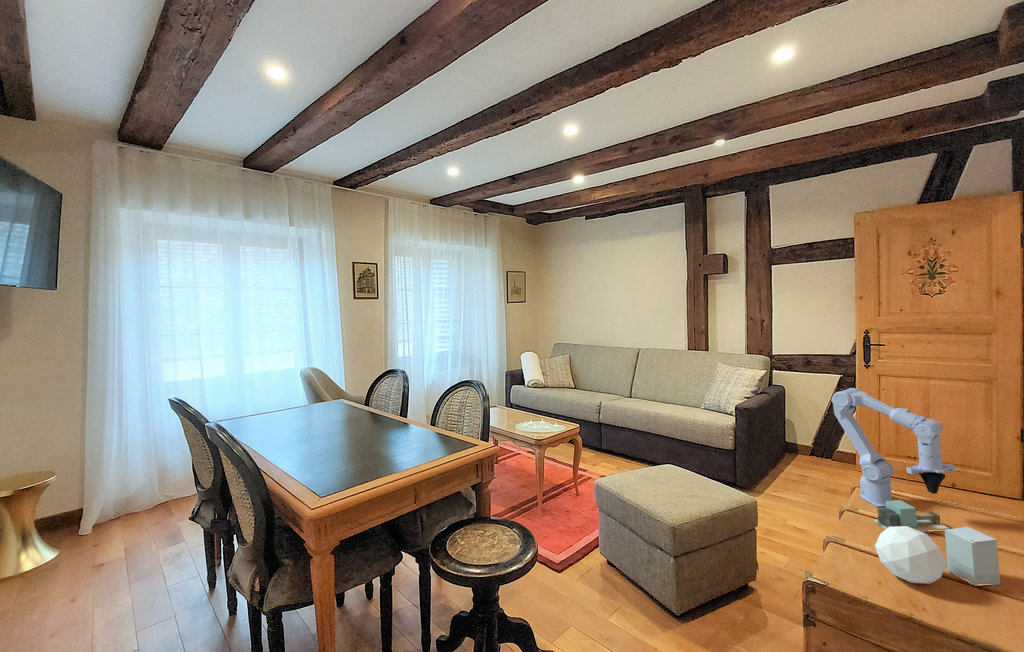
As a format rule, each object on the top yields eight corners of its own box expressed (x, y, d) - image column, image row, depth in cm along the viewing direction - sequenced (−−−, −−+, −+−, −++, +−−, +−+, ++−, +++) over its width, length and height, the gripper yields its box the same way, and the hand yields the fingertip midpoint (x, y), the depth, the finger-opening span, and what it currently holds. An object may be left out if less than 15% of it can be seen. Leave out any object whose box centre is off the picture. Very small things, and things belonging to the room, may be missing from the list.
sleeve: (886, 519, 147) (885, 501, 147) (901, 518, 147) (900, 500, 147) (901, 528, 141) (900, 509, 141) (917, 527, 141) (915, 508, 141)
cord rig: (873, 522, 149) (872, 506, 149) (927, 519, 148) (925, 502, 147) (892, 534, 141) (891, 517, 141) (949, 531, 140) (948, 513, 139)
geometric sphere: (922, 591, 121) (957, 552, 119) (922, 601, 111) (961, 558, 108) (866, 550, 131) (897, 513, 129) (861, 555, 121) (895, 515, 118)
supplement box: (1001, 585, 114) (998, 539, 114) (974, 588, 114) (971, 542, 114) (971, 568, 121) (968, 526, 121) (946, 571, 121) (943, 528, 121)
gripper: (917, 460, 143) (920, 498, 144) (963, 457, 142) (966, 496, 143) (900, 453, 150) (903, 489, 151) (943, 450, 149) (946, 487, 150)
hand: (932, 492), depth 147 cm, fingers closed
